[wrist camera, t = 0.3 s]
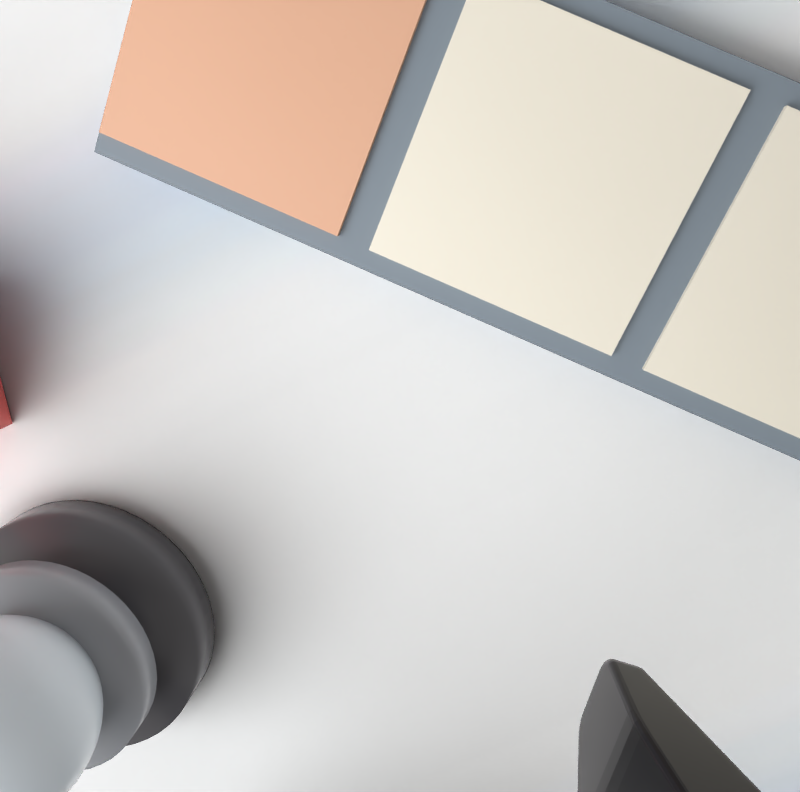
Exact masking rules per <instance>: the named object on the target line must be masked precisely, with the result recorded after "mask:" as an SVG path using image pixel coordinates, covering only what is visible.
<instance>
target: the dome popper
mask: <svg viewBox="0 0 800 792" xmlns="http://www.w3.org/2000/svg"><path fill="white" fill-rule="evenodd" d="M156 685H157V670H156V663H155V658H154V653H153V650H152V647H151V644H150V642H149V639H148V637H147V635H146V633H145V631H144V629H143V627H142V626H141V624H140V623H139V621H138V620H137V618H136V617H135V615H134V614H133V613H132V612H131V610H130V609H129V608H128V607H127V605H126V604H125V603H124V602H123V601H122V600H121V599H120V598H119V597H118V596H117V595H116V594H114V593H113V592H112V591H111V590H109V589H108V588H107V587H106V586H104V585H103V584H101V583H100V582H98V581H97V580H95V579H93V578H92V577H90V576H88V575H86V574H84V573H82V572H80V571H78V570H75V569H73V568H70V567H67V566H64V565H60V564H56V563H52V562H46V561H37V560H27V561H16V562H10V563H6V564H3V565H0V792H68V791H69V790H70V789H71V788H72V786H73V785H74V784H75V783H76V782H77V780H78V779H79V777H80V776H81V774H82V772H83V771H84V770H85V769H90V768H93V767H95V766H98V765H101V764H103V763H104V762H106V761H108V760H110V759H112V758H113V757H114V756H115V755H117V754H118V753H119V752H120V751H121V750H122V749H123V748H124V747H125V746H126V745H127V744H128V742H129V741H130V739H131V738H132V737H133V735H134V734H135V732H136V731H137V729H138V728H139V726H140V725H141V723H142V722H143V720H144V719H145V717H146V716H147V714H148V713H149V711H150V708H151V706H152V704H153V701H154V697H155V693H156Z"/></svg>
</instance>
